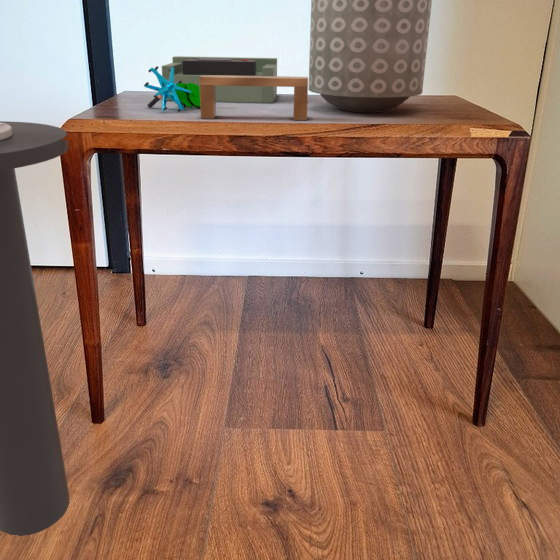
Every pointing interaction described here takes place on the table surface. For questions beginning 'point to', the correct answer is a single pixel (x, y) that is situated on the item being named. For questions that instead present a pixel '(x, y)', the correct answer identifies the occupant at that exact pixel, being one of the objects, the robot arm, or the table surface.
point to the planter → (368, 52)
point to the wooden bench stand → (276, 81)
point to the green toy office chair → (174, 92)
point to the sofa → (230, 92)
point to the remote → (219, 67)
